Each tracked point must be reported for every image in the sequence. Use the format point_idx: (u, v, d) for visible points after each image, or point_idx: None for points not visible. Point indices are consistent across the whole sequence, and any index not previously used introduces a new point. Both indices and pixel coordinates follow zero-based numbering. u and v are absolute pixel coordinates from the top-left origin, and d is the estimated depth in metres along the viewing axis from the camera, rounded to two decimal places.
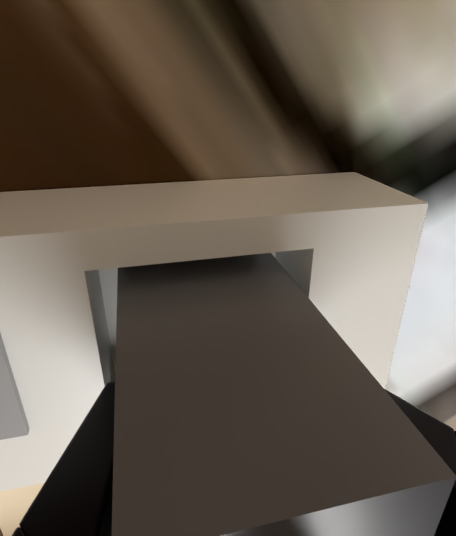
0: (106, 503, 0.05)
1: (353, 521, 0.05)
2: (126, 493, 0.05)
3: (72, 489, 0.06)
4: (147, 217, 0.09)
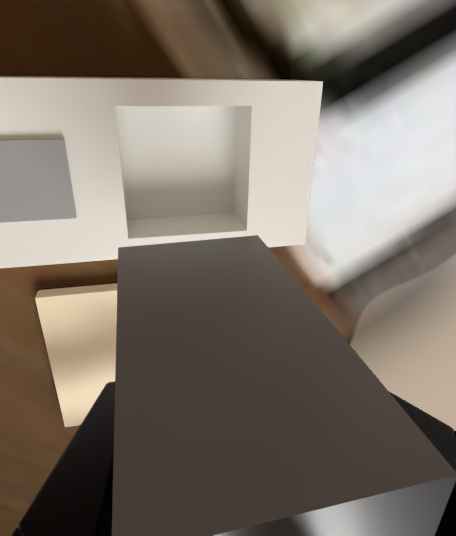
0: (106, 503, 0.05)
1: (355, 519, 0.05)
2: (126, 491, 0.05)
3: (72, 489, 0.06)
4: None
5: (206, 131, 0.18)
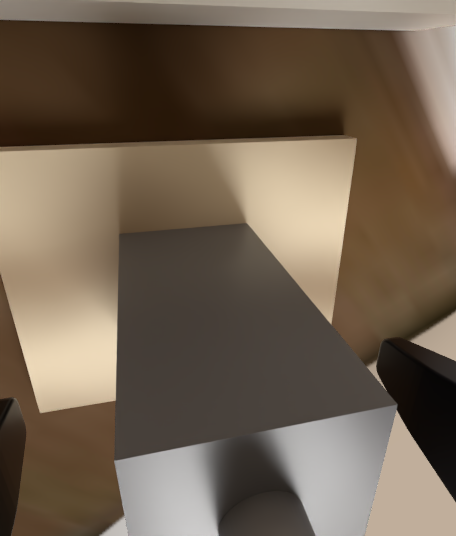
0: None
1: (311, 439, 0.06)
2: (126, 416, 0.06)
3: None
4: None
5: None
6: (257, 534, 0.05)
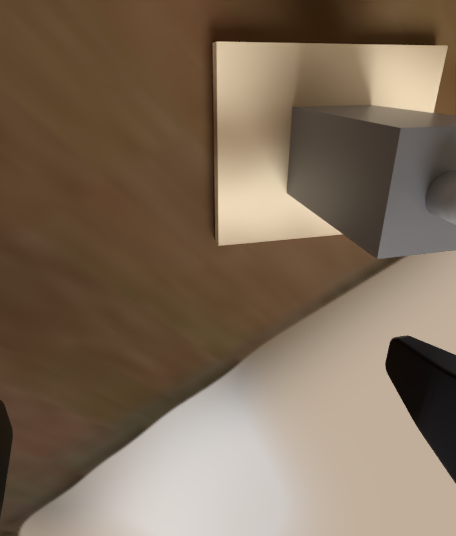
0: None
1: None
2: (391, 124, 0.12)
3: None
4: None
5: None
6: None
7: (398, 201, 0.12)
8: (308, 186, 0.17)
